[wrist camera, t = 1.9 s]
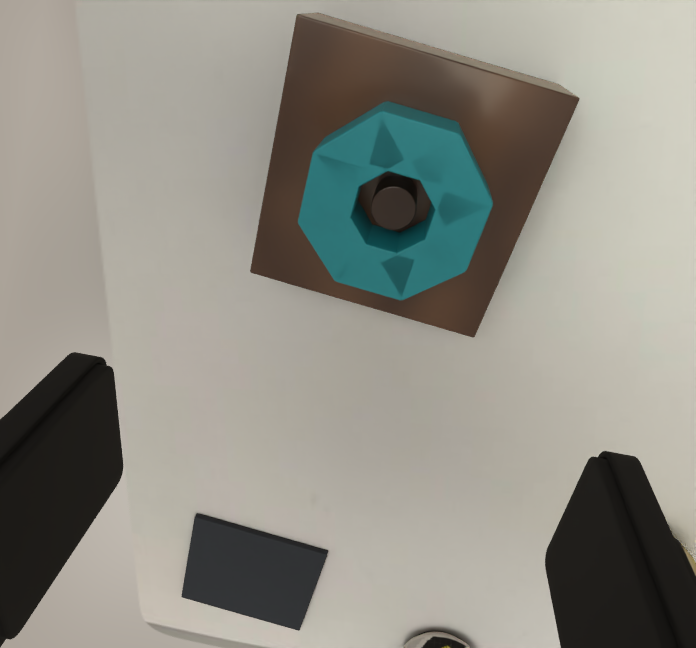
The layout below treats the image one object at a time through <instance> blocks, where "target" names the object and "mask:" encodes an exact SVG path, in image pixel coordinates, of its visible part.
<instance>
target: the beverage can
mask: <svg viewBox="0 0 696 648" xmlns="http://www.w3.org/2000/svg"><path fill="white" fill-rule="evenodd" d="M403 648H470V647H469V645H468V644H466V643H465V642H464V641H462V640H460V639H458V638H457V637H455V636H453V635H451V634H448V633H444V632H426V633H423V634H421V635H418V636H416V637H414V638H412V639H410V640H409V641H408V642H407V643H406V644H405V645H404V647H403Z"/></svg>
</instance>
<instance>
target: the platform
mask: <svg viewBox="0 0 696 648" xmlns="http://www.w3.org/2000/svg"><path fill="white" fill-rule="evenodd" d="M387 101H389V102H393V103H396V104H399V105H403V106H406V107H410V108H413V109H416V110H420V111H423V112H426V113H430V114H433V115H437V116H440V117H443V118H447V119H450V120H454V121H456V122H458V123H459V125H460V127H461V129H462V131H463V134H464V136H465V138H466V140H467V142H468V144H469V146H470V148H471V150H472V153H473V155H474V157H475V159H476V161H477V163H478V165H479V167H480V169H481V171H482V174H483V176H484V178H485V180H486V182H487V184H488V187H489V190H490V194H491V197H492V201H493V206H492V209H491V211H490V214H489V216H488V219H487V221H486V224H485V226H484V229H483V231H482V234H481V236H480V239H479V241H478V244H477V246H476V249H475V251H474V254H473V256H472V259H471V261H470V264H469V266H468V268H467V270H466V271H465V272H464V273H462V274H460V275H458V276H455V277H453V278H451V279H449V280H446V281H444V282H442V283H440V284H438V285H435V286H433V287H431V288H429V289H427V290H424V291H422V292H420V293H418V294H416V295H413V296H411V297H409V298H407V299H404V300H397V299H394V298H390V297H387V296H383V295H380V294H376V293H373V292H370V291H366V290H363V289H359V288H356V287H352V286H349V285H346V284H342V283H339V282H336V281H334V279H333V278H332V276H331V275H330V273H329V271H328V270H327V268H326V267H325V265H324V263H323V262H322V260H321V259H320V257H319V256H318V254H317V252H316V251H315V249H314V248H313V246H312V245H311V243H310V241H309V240H308V238H307V237H306V235H305V234H304V232H303V230H302V229H301V227H300V226H299V224H298V218H299V213H300V209H301V204H302V199H303V195H304V190H305V186H306V181H307V177H308V172H309V168H310V163H311V158H312V154H313V151H314V150H315V149H316V148H317V146H318V145H319V144H320V143H321V142H322V140H323V139H324V138H325V137H326V136H328V135H330V134H331V133H333V132H335V131H336V130H338V129H340V128H341V127H343V126H345V125H346V124H348V123H350V122H351V121H353V120H355V119H356V118H358V117H360V116H361V115H363V114H365V113H366V112H368V111H370V110H371V109H373V108H375V107H376V106H378V105H380V104H381V103H383V102H387ZM578 101H579V98H578V97H577V96H576V95H574V94H573V93H571V92H570V91H568V90H567V89H565V88H564V87H562V86H560V85H559V84H556V83H552V82H549V81H546V80H542V79H539V78H536V77H532V76H529V75H525V74H522V73H519V72H515V71H512V70H509V69H505V68H502V67H499V66H495V65H492V64H488V63H485V62H482V61H478V60H475V59H472V58H468V57H465V56H462V55H458V54H455V53H451V52H448V51H445V50H441V49H438V48H435V47H431V46H428V45H425V44H421V43H418V42H414V41H411V40H408V39H404V38H401V37H398V36H394V35H391V34H388V33H384V32H381V31H377V30H374V29H371V28H367V27H364V26H361V25H357V24H354V23H351V22H347V21H344V20H340V19H337V18H334V17H330V16H327V15H324V14H320V13H308V14H297V16H296V22H295V27H294V33H293V38H292V44H291V49H290V55H289V60H288V66H287V71H286V77H285V82H284V88H283V93H282V99H281V104H280V110H279V115H278V121H277V126H276V132H275V137H274V143H273V148H272V154H271V159H270V165H269V170H268V176H267V181H266V187H265V192H264V198H263V203H262V209H261V214H260V220H259V225H258V231H257V237H256V242H255V248H254V253H253V259H252V264H251V270H250V272H251V273H254V274H258V275H261V276H264V277H268V278H271V279H275V280H278V281H281V282H285V283H288V284H292V285H295V286H299V287H302V288H305V289H309V290H312V291H316V292H319V293H323V294H326V295H329V296H333V297H336V298H340V299H343V300H347V301H350V302H353V303H357V304H360V305H364V306H367V307H371V308H374V309H377V310H381V311H384V312H388V313H391V314H395V315H398V316H401V317H405V318H408V319H412V320H415V321H419V322H422V323H425V324H429V325H432V326H436V327H439V328H443V329H446V330H449V331H453V332H456V333H460V334H463V335H467V336H470V337H475V335H476V332H477V330H478V328H479V326H480V323H481V321H482V319H483V317H484V314H485V312H486V310H487V308H488V305H489V303H490V301H491V299H492V296H493V294H494V292H495V289H496V287H497V285H498V283H499V280H500V278H501V276H502V274H503V271H504V269H505V267H506V265H507V262H508V260H509V258H510V255H511V253H512V251H513V249H514V246H515V244H516V242H517V240H518V237H519V235H520V233H521V231H522V228H523V226H524V224H525V222H526V219H527V217H528V215H529V212H530V210H531V208H532V206H533V203H534V201H535V199H536V197H537V194H538V192H539V190H540V188H541V185H542V183H543V181H544V178H545V176H546V174H547V172H548V169H549V167H550V165H551V163H552V160H553V158H554V156H555V154H556V151H557V149H558V147H559V144H560V142H561V140H562V138H563V135H564V133H565V131H566V129H567V126H568V124H569V122H570V120H571V117H572V115H573V113H574V111H575V108H576V106H577V104H578ZM358 201H359V202H360V204H361V206H362V208H363V209H364V211H365V213H366V214H367V216H368V218H369V220H370V221H371V223H372V225H376V226H379V227H382V228H385V229H388V230H393V231H396V232H399V233H400V232H402V231H404V230H406V229H408V228H410V227H412V226H414V225H416V224H418V223H420V222H422V221H424V220H426V217H427V214H428V211H429V208H430V205H431V201H430V199H429V197H428V195H427V193H426V191H425V189H424V187H423V185H422V184H421V182H420V180H416V179H413V178H410V177H406V176H403V175H399V174H396V173H393V172H389V171H387V172H385V173H384V174H382V175H380V176H378V177H376V178H374V179H373V180H371V181H369V182H367V183H365V184H363V185H362V186H361V190H360V194H359V198H358Z"/></svg>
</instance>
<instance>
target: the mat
mask: <svg viewBox="0 0 696 648" xmlns="http://www.w3.org/2000/svg"><path fill="white" fill-rule="evenodd" d="M327 553H328V551H327V550H323V549H320V548H316V547H313V546H309V545H306V544H302V543H299V542H295V541H292V540H288V539H285V538H281V537H278V536H274V535H271V534H267V533H264V532H260V531H257V530H253V529H250V528H246V527H243V526H240V525H236V524H233V523H229V522H226V521H222V520H219V519H215V518H212V517H208V516H205V515H201V514H198V513H197V514H196V516H195V519H194V525H193V531H192V537H191V543H190V549H189V555H188V561H187V567H186V573H185V579H184V585H183V591H182V597H183V598H186V599H190V600H193V601H197V602H200V603H204V604H207V605H211V606H214V607H218V608H221V609H225V610H228V611H232V612H235V613H239V614H242V615H246V616H249V617H253V618H257V619H260V620H264V621H267V622H271V623H274V624H278V625H281V626H285V627H288V628H292V629H295V630H300V627H301V625H302V622H303V619H304V617H305V614H306V611H307V608H308V606H309V603H310V600H311V598H312V595H313V592H314V589H315V587H316V584H317V581H318V578H319V576H320V573H321V570H322V568H323V565H324V562H325V559H326V557H327Z"/></svg>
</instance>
